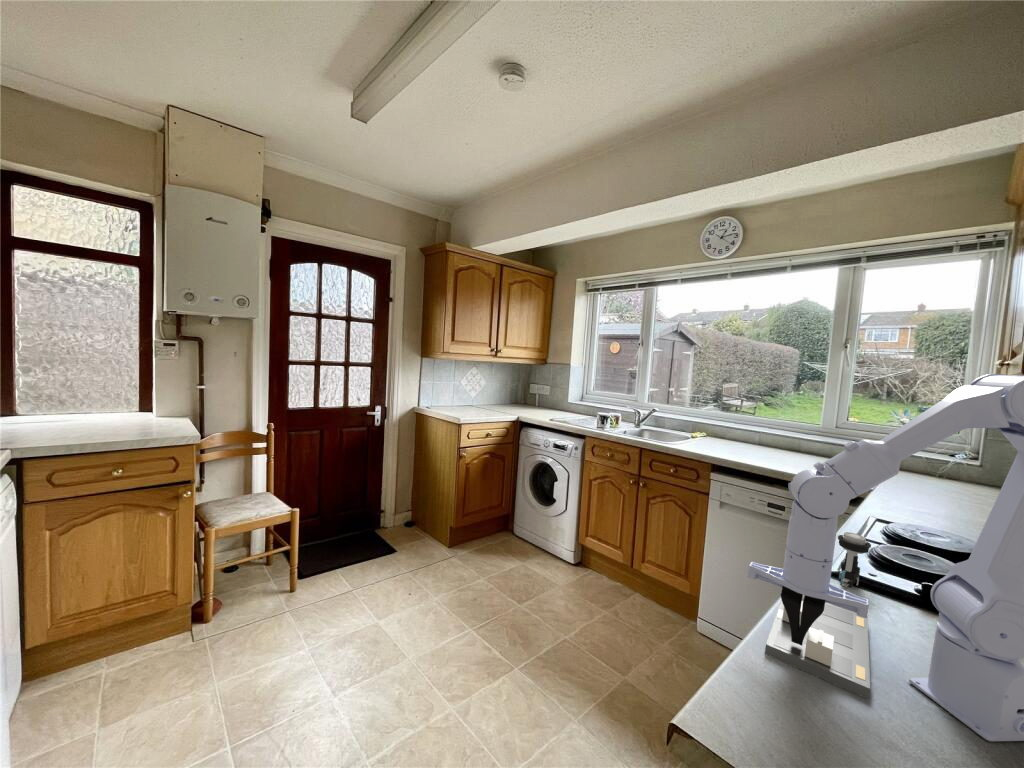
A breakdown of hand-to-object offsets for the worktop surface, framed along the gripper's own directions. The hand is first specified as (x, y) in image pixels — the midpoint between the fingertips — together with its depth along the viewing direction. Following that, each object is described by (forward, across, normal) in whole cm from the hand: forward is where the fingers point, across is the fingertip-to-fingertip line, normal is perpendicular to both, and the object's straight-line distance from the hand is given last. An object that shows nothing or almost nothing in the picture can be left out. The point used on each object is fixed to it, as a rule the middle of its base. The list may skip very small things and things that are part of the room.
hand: (797, 640), depth 64 cm
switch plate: (+2, -2, -8) cm, 9 cm away
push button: (+3, -6, -35) cm, 36 cm away
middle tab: (+1, +1, -8) cm, 8 cm away
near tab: (+1, -3, 0) cm, 3 cm away
